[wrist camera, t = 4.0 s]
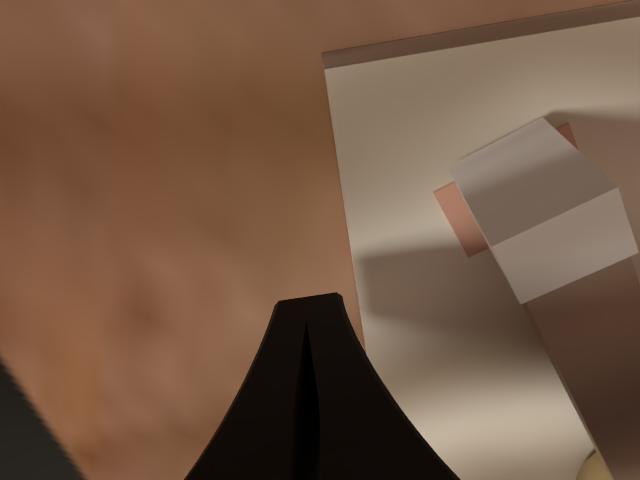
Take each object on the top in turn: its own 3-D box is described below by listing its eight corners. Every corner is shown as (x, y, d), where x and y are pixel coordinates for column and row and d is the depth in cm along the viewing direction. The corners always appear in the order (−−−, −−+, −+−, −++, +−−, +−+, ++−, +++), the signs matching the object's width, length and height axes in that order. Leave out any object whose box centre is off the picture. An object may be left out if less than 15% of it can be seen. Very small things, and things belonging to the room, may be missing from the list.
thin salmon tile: (567, 122, 11) (569, 124, 11) (592, 195, 12) (595, 198, 12) (432, 191, 12) (433, 193, 12) (467, 255, 13) (468, 258, 13)
